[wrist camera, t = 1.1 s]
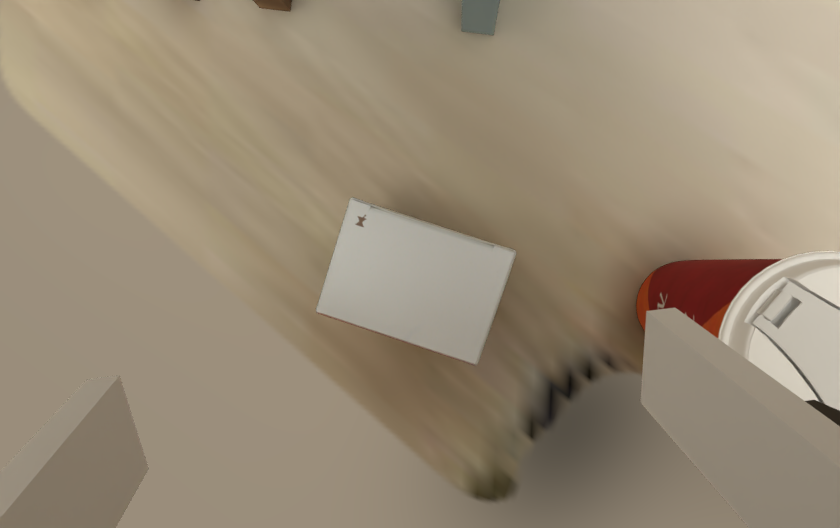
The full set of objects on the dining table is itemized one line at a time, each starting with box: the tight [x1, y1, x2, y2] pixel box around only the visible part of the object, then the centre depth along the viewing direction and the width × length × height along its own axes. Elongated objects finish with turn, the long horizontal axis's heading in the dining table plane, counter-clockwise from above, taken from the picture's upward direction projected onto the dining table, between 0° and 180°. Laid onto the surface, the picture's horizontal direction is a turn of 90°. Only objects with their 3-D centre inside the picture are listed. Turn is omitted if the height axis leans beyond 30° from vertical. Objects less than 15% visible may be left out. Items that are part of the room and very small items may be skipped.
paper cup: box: [636, 251, 840, 411], centre depth 26 cm, size 8×8×14 cm
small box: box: [316, 197, 516, 366], centre depth 29 cm, size 8×6×10 cm
